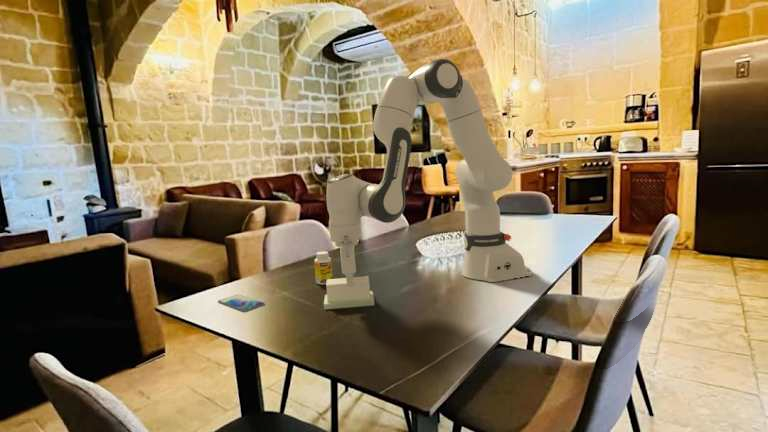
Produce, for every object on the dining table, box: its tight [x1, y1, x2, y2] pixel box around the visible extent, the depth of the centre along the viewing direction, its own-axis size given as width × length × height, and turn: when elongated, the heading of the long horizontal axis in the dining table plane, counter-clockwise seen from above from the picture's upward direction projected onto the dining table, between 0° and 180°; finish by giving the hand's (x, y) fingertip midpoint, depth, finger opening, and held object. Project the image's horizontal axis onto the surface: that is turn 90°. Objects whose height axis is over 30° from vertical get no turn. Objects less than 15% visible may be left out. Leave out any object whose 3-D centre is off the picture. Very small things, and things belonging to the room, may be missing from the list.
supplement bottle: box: [313, 250, 333, 286], centre depth 141 cm, size 6×6×10 cm
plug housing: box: [325, 275, 371, 302], centre depth 121 cm, size 12×5×5 cm, turn 95°
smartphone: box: [217, 294, 266, 313], centre depth 126 cm, size 7×1×15 cm
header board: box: [323, 290, 375, 311], centre depth 121 cm, size 14×8×5 cm, turn 95°
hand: (350, 280), depth 121 cm, fingers open, 8 cm apart
